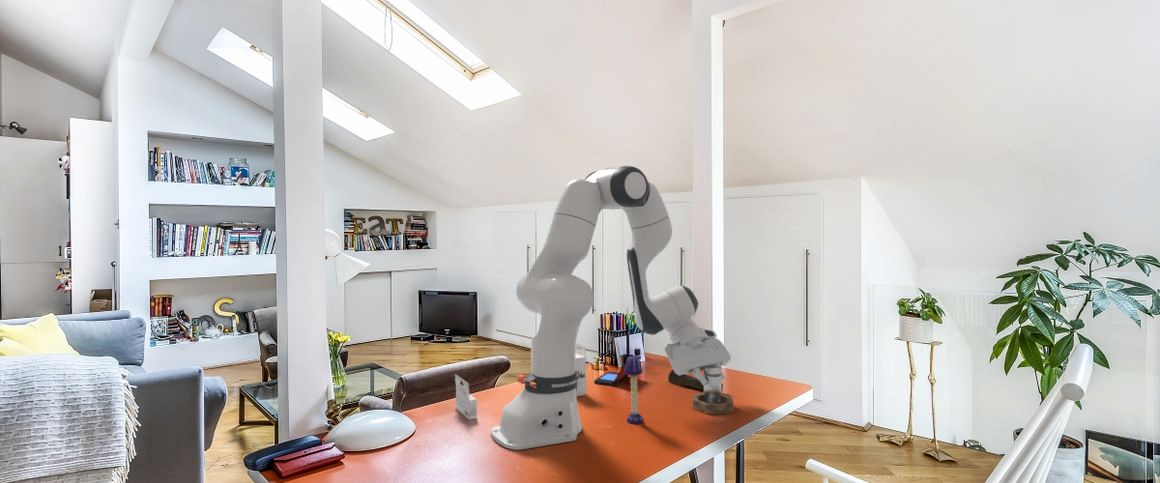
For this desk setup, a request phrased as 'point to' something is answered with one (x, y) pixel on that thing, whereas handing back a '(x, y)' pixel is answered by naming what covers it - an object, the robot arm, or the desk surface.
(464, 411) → the ink cartridge box
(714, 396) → the cylinder
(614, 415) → the desk surface
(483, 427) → the desk surface
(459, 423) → the desk surface
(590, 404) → the desk surface
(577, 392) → the ink box
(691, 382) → the hand tool
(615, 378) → the handheld game console
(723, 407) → the walnut ring
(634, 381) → the toy lamp
